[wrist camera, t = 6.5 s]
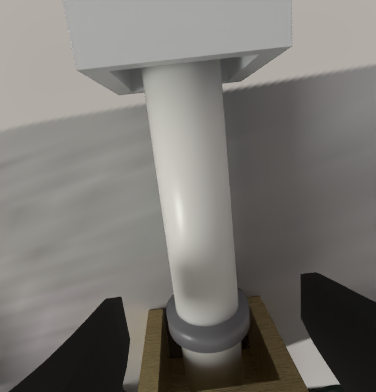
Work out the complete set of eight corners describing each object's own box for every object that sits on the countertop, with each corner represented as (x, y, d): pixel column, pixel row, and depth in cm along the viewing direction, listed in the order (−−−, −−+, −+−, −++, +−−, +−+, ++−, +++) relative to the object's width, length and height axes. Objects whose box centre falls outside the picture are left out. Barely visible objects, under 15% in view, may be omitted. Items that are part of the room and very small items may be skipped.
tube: (128, 28, 12) (106, -21, 8) (218, 18, 12) (241, -35, 8) (176, 348, 17) (177, 418, 13) (242, 339, 17) (264, 405, 13)
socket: (148, 310, 17) (134, 417, 11) (259, 295, 17) (309, 392, 11) (159, 371, 18) (152, 498, 12) (262, 357, 18) (308, 475, 12)
